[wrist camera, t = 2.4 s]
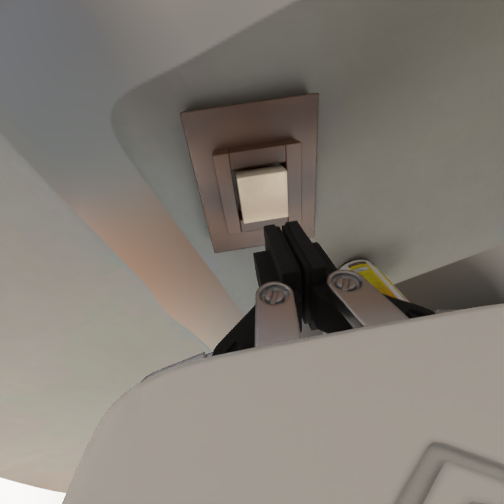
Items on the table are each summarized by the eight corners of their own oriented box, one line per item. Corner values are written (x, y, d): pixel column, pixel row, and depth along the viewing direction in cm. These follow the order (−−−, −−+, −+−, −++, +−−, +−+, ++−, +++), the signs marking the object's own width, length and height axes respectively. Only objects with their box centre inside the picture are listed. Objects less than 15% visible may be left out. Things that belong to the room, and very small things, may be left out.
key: (235, 171, 18) (236, 178, 16) (281, 164, 18) (287, 170, 17) (241, 215, 20) (243, 224, 18) (283, 208, 20) (289, 217, 18)
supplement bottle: (323, 286, 30) (363, 360, 22) (348, 252, 28) (404, 320, 19) (357, 295, 32) (407, 367, 24) (383, 264, 29) (450, 331, 21)
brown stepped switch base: (183, 111, 18) (175, 114, 15) (309, 93, 19) (328, 92, 15) (215, 242, 25) (214, 264, 22) (307, 227, 25) (320, 246, 22)
